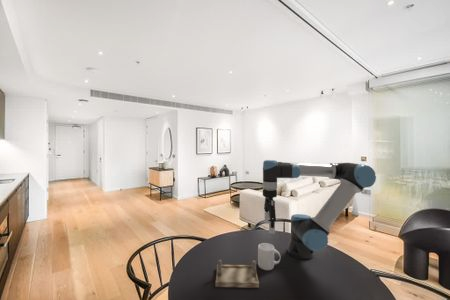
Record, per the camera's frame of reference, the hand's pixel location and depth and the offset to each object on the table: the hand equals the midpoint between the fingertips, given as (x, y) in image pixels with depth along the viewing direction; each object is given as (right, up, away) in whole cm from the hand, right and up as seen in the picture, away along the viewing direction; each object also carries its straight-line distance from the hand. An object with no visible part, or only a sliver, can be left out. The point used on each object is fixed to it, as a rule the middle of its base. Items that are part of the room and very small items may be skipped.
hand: (269, 228), depth 111 cm
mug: (0, -21, 0) cm, 21 cm away
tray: (-18, -21, -9) cm, 29 cm away
